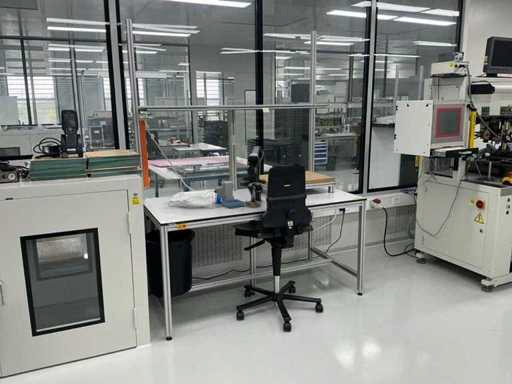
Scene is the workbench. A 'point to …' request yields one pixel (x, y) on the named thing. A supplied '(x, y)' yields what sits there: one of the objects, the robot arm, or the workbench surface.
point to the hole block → (252, 204)
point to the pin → (253, 194)
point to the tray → (233, 203)
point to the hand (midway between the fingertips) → (253, 194)
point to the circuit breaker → (225, 190)
